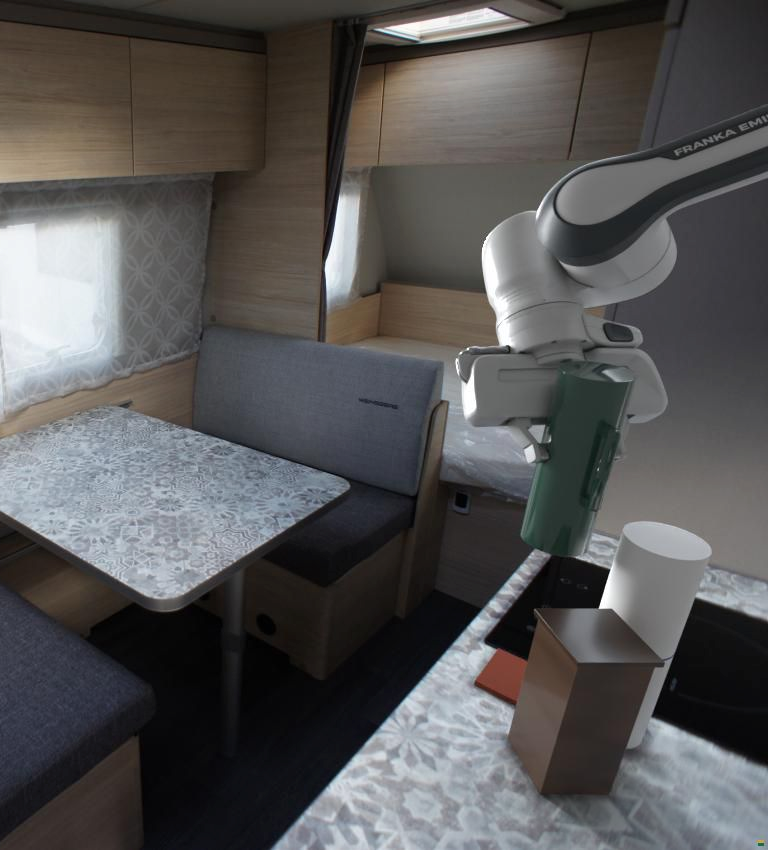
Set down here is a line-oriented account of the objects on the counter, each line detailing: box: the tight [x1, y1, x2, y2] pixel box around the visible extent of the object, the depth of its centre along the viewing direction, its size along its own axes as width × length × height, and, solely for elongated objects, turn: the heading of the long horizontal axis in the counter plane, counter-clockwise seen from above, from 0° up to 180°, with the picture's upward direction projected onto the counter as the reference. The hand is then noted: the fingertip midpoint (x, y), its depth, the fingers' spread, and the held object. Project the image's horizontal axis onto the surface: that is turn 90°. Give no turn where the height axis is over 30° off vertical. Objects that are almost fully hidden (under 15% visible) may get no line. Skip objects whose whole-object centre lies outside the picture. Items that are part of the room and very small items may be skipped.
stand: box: [507, 608, 665, 796], centre depth 69 cm, size 8×8×18 cm
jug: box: [519, 361, 637, 558], centre depth 70 cm, size 8×7×20 cm
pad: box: [473, 647, 528, 706], centre depth 83 cm, size 8×7×1 cm
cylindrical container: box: [598, 520, 713, 750], centre depth 72 cm, size 7×7×25 cm
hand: (577, 461), depth 71 cm, fingers closed on jug, 6 cm apart
